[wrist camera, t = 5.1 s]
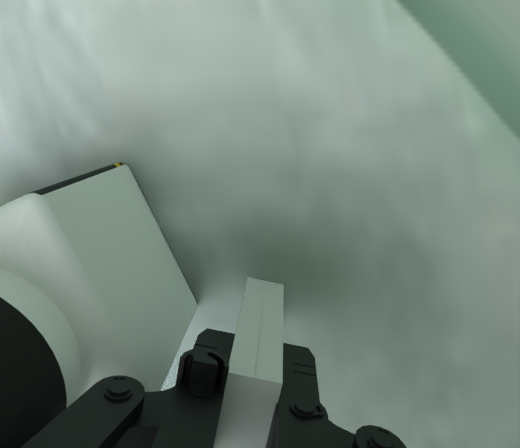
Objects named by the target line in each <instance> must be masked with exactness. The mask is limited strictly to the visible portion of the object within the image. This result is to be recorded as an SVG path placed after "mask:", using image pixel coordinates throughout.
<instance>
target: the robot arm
mask: <svg viewBox="0 0 520 448" xmlns="http://www.w3.org/2000/svg"><path fill="white" fill-rule="evenodd" d="M283 309H284V284H279V283H274V282H269V281H264V280H259V279H254V278H250V277H248V279H247V284H246V288H245V293H244V297H243V302H242V306H241V311H240V316H239V320H238V325H237V329H236V334H232V333H227V332H222V331H218V330H213V329H208V328H207V329H206V330H204V331H203V332H202V333H200V334H199V335H198V337H197V340H196V343H195V345H194V348H193V349H192V350H189V351H187V352H185V353H184V354H183V355H182V356H181V357H180V362H179V368H178V374H177V380H176V385H175V386H174V387H172V388H170V389H167V390H164V391H156V392H145V388H144V386H143V385H142V384H141V382H140V381H138V380H136V379H134V378H132V377H128V376H124V375H119V376H110V377H106V378H103V379H102V380H100V381H98V382H96V383H95V384H94V385H93V386H92V387H91V388H89V389H88V390H87V391H86V392H85V393H84V394H82V395H81V396H80V397H79V398H78V399H77V400H75V401H74V402H73V403H72V404H71V405H70V406H68V407H67V408H66V409H65V410H64V411H63V412H61V413H60V414H59V415H58V416H57V417H56V418H54V419H53V420H52V421H51V422H50V423H49V424H47V425H46V426H45V427H44V428H43V429H42V430H40V431H39V432H38V433H37V434H36V435H35V436H33V437H32V438H31V439H30V440H29V441H28V442H26V443H25V444H24V445H23V446H22V447H21V448H406V446H405V445H404V444H403V442H402V441H401V440H400V439H399V438H398V437H397V436H396V435H394V434H393V433H392V432H390V431H388V430H386V429H384V428H381V427H378V426H372V425H368V426H362V427H361V428H359V429H358V430H357V432H356V435H355V434H353V433H350V432H348V431H346V430H344V429H342V428H340V427H338V426H336V425H335V424H333V423H332V422H331V421H329V420H328V415H327V412H326V410H325V408H324V407H323V406H322V405H321V404H320V400H319V391H318V382H317V377H316V376H317V373H316V365H315V357H314V356H313V354H312V353H311V352H310V350H309V349H308V348H306V347H301V346H296V345H291V344H286V343H283Z"/></svg>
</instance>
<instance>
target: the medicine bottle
mask: <svg viewBox="0 0 520 448" xmlns="http://www.w3.org/2000/svg"><path fill="white" fill-rule="evenodd" d="M196 308H197V304H196V300H195V298H194V296H193V294H192V292H191V290H190V288H189V286H188V284H187V282H186V280H185V278H184V276H183V274H182V272H181V270H180V268H179V266H178V264H177V262H176V260H175V258H174V256H173V254H172V252H171V250H170V248H169V246H168V244H167V242H166V240H165V238H164V236H163V234H162V232H161V230H160V228H159V226H158V224H157V222H156V220H155V218H154V216H153V214H152V212H151V210H150V208H149V206H148V204H147V202H146V200H145V198H144V196H143V194H142V192H141V190H140V188H139V186H138V184H137V182H136V180H135V178H134V176H133V174H132V172H131V170H130V168H129V167H128V166H127V165H126V164H124V163H115V164H112V165H110V166H107V167H104V168H101V169H98V170H95V171H92V172H89V173H86V174H83V175H81V176H78V177H75V178H72V179H69V180H66V181H63V182H60V183H57V184H54V185H52V186H49V187H46V188H43V189H40V190H37V191H34V192H31V193H28V194H26V195H24V196H22V197H19V198H17V199H15V200H13V201H11V202H8V203H6V204H4V205H2V206H0V448H21V447H22V446H23V445H24V444H25V443H26V442H28V441H29V440H30V439H31V438H32V437H33V436H35V435H36V434H37V433H38V432H39V431H40V430H42V429H43V428H44V427H45V426H46V425H47V424H49V423H50V422H51V421H52V420H53V419H54V418H56V417H57V416H58V415H59V414H60V413H61V412H63V411H64V410H65V409H66V408H67V407H68V406H70V405H71V404H72V403H73V402H74V401H75V400H77V399H78V398H79V397H80V396H81V395H82V394H84V393H85V392H86V391H87V390H88V389H89V388H91V387H92V386H93V385H94V384H95V383H96V382H98V381H100V380H102V379H103V378H106V377H110V376H119V375H124V376H128V377H132V378H134V379H136V380H138V381H140V382H141V384H142V385H143V386H144V388H145V392H156V391H160V390H161V388H162V385H163V383H164V381H165V379H166V376H167V374H168V372H169V370H170V367H171V365H172V363H173V360H174V358H175V356H176V354H177V351H178V349H179V347H180V345H181V342H182V340H183V338H184V336H185V333H186V331H187V329H188V326H189V324H190V322H191V320H192V317H193V315H194V313H195V311H196Z"/></svg>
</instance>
